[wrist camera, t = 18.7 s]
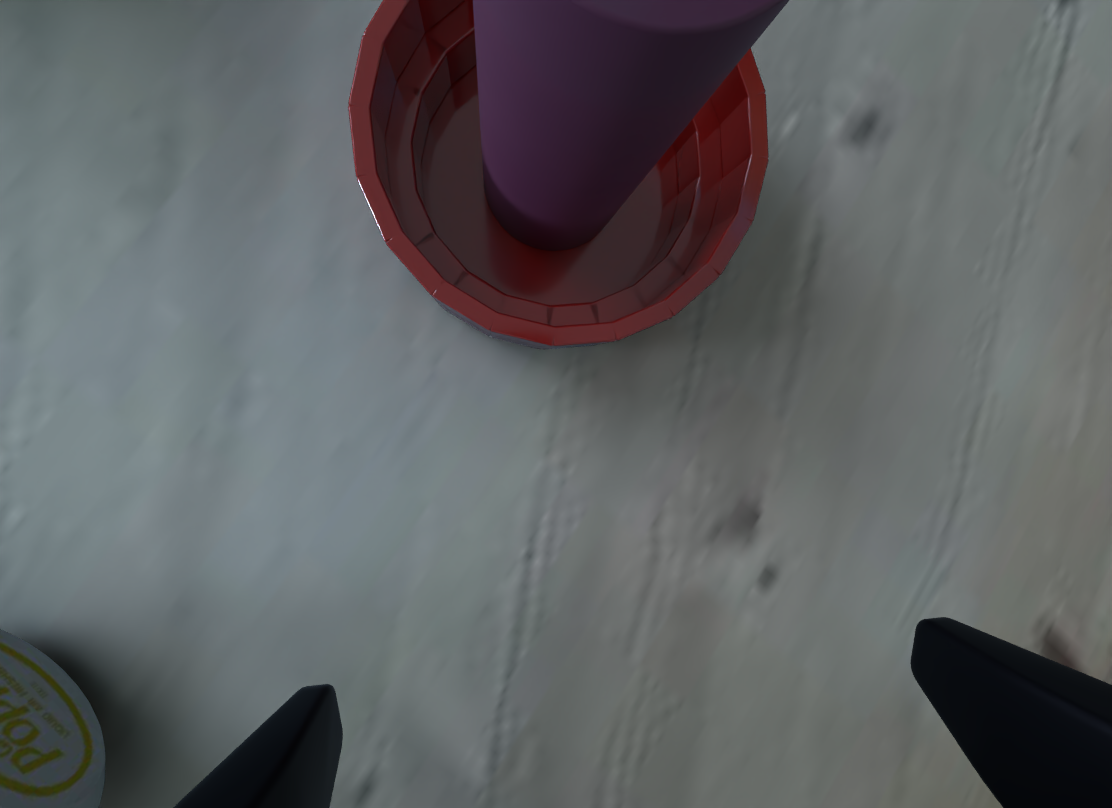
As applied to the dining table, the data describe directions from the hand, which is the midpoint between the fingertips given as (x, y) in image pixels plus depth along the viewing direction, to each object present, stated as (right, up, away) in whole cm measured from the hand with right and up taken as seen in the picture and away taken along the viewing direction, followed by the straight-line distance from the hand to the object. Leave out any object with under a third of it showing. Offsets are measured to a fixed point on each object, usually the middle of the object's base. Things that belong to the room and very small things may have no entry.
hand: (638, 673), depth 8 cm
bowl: (-1, +12, +12) cm, 17 cm away
